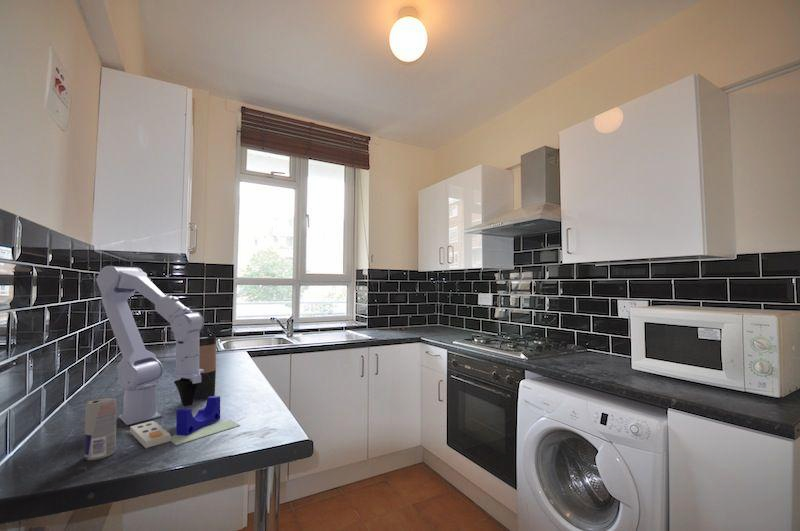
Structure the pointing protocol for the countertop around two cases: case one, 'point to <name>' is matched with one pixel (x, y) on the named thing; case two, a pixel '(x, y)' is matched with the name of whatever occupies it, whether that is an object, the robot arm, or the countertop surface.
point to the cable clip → (197, 417)
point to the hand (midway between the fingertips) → (187, 405)
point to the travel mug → (206, 367)
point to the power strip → (150, 434)
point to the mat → (204, 432)
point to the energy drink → (100, 428)
